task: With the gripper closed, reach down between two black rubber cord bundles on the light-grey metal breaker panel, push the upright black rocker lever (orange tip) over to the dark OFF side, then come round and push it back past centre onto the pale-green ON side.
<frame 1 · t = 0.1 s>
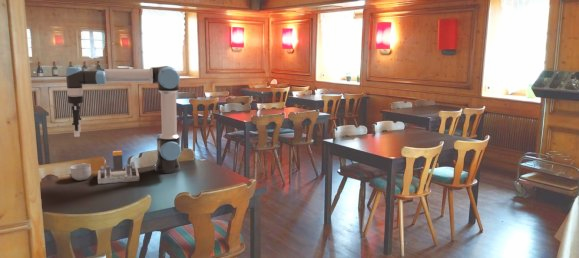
hand: (77, 134, 256), 28 cm above the table, fingers open, 13 cm apart
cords: (118, 170, 272), point 5 cm above the table
teacup: (82, 178, 271), on the table
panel: (118, 178, 273), on the table
lever: (117, 161, 271), point 10 cm above the table, hinge at 0.0°
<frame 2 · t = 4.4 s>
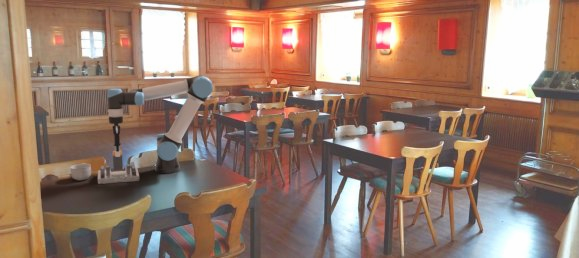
hand: (117, 156, 269), 13 cm above the table, fingers closed
lever: (117, 161, 271), point 10 cm above the table, hinge at 0.0°, touching gripper
everything else where it was.
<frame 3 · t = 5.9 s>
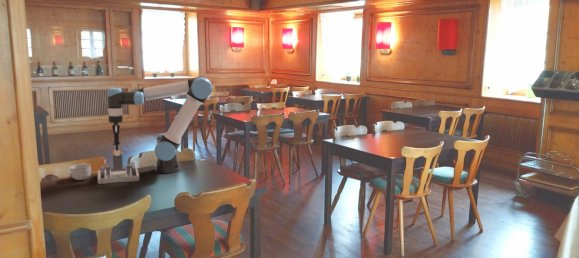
hand: (117, 155, 271), 13 cm above the table, fingers closed
lever: (117, 161, 272), point 10 cm above the table, hinge at -19.3°
everything else where it was.
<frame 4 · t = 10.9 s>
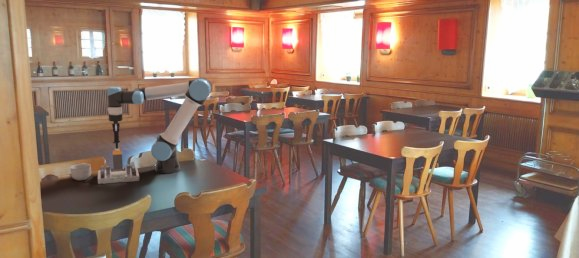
hand: (117, 153, 274), 14 cm above the table, fingers closed
lever: (117, 161, 272), point 10 cm above the table, hinge at -16.3°, touching gripper
everything else where it was.
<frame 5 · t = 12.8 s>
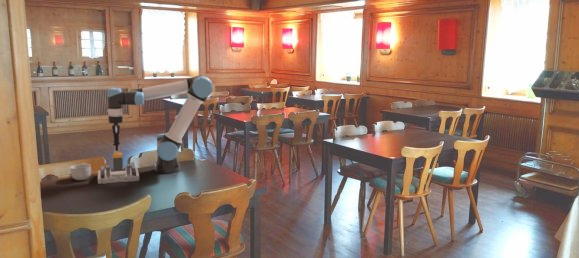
hand: (117, 155, 269), 14 cm above the table, fingers closed
lever: (117, 162, 269), point 10 cm above the table, hinge at 19.1°, touching gripper
everything else where it was.
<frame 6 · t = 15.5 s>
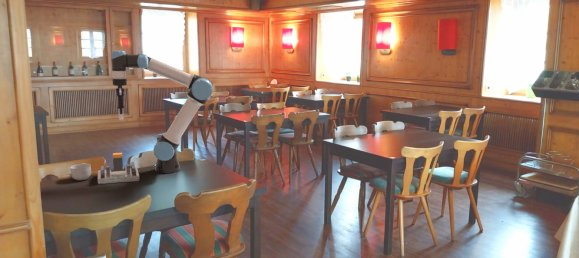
hand: (121, 119, 268), 34 cm above the table, fingers closed
lever: (117, 162, 269), point 10 cm above the table, hinge at 19.2°
everything else where it was.
at the end: lever at +19° (first picture: +0°) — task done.
